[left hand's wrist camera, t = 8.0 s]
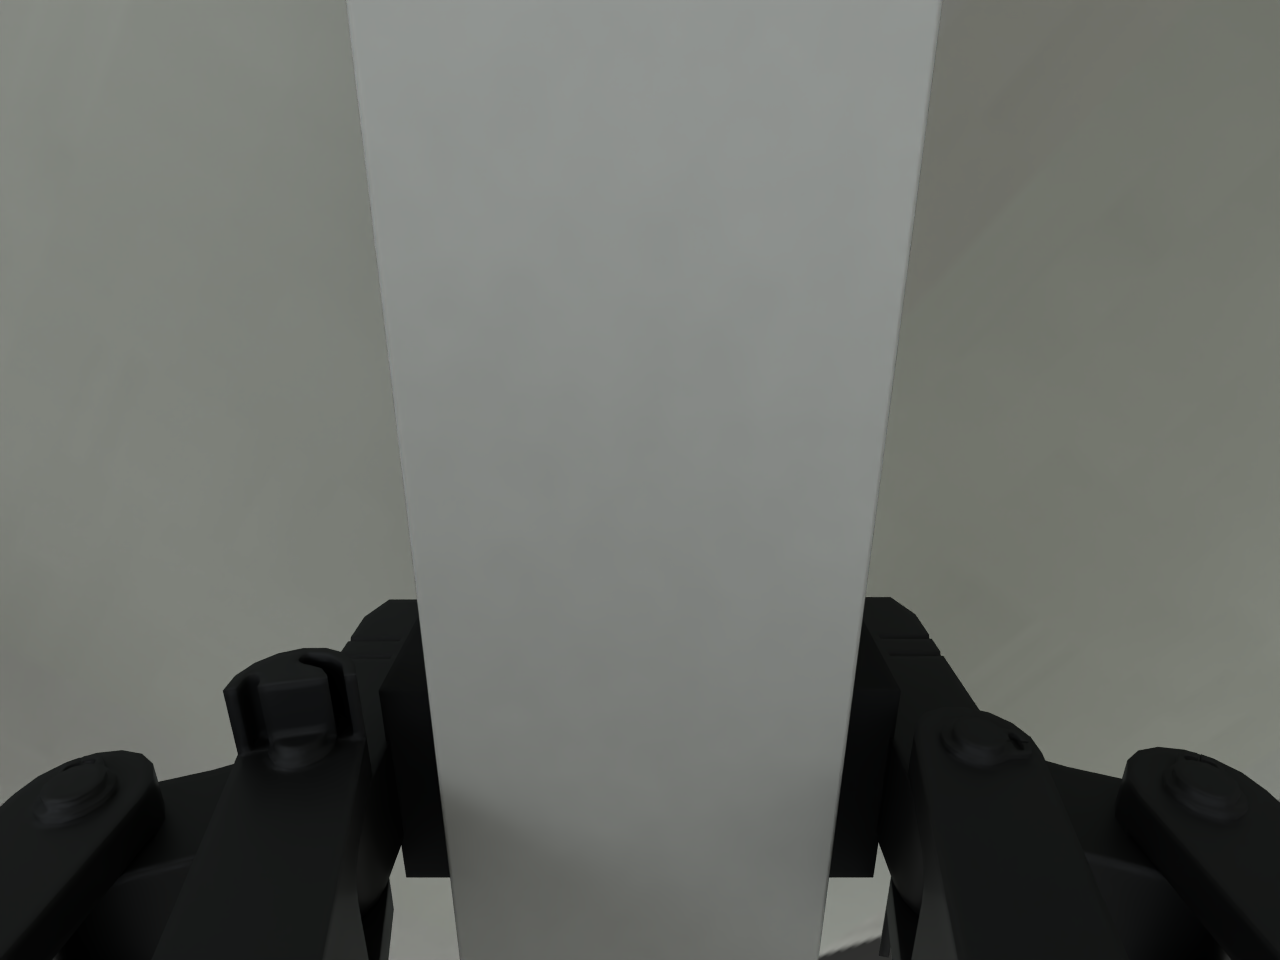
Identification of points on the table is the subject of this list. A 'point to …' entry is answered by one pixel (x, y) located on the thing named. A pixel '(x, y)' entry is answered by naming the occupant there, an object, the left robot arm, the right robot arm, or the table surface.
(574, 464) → the bar
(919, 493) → the table surface
